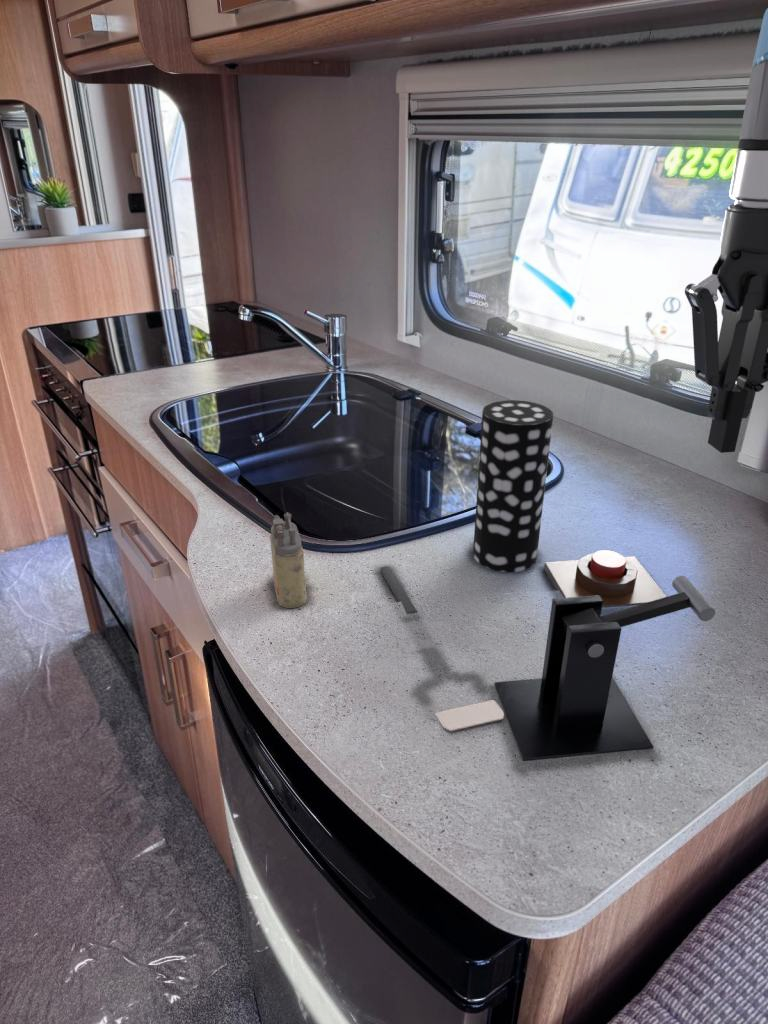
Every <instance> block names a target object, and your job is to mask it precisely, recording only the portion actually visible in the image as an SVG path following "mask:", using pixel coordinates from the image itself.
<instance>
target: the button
mask: <svg viewBox="0 0 768 1024" xmlns="http://www.w3.org/2000/svg"><path fill="white" fill-rule="evenodd" d="M591 554H592V558H591V564H590V571H591V572H592V573H593V574H595V575H597V576H599V577H603V578H607V579H616V578H621V577H622V576H623V575H624V571H625V566H626V559H625V557H626V556H624V555H622V554H621V553H619V552H616V551H613V550H608V549H600V550H596V551H595V552H593V553H591Z"/></svg>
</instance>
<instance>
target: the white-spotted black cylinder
mask: <svg viewBox="0 0 768 1024" xmlns="http://www.w3.org/2000/svg"><path fill="white" fill-rule="evenodd" d="M553 422H554V412H553V411H552V410H551V408H549V407H547V406H545V405H544V404H540V403H537V402H533V401H527V400H517V399H515V400H514V399H511V400H510V399H509V400H508V399H507V400H497V401H493V402H491V403H490V402H489V403H488V404H486V405H485V406H484V407H483V408H482V414H481V426H480V442H479V443H480V444H479V459H478V473H477V487H476V488H477V489H476V502H475V515H474V516H475V517H474V533H473V547H472V556H473V559H475V561H476V562H477V563H478V564H479V565H480V566H483V567H485V568H486V569H488V570H491V571H496V572H501V573H516V572H517V573H518V572H523V571H525V570H528V569H530V568H532V567H533V566H534V565H535V564H536V562H537V559H538V550H539V542H540V534H541V526H542V525H541V524H542V518H543V517H542V516H543V509H544V508H543V507H544V499H545V492H546V491H545V490H546V482H547V473H548V465H549V456H550V447H551V439H552V430H553Z"/></svg>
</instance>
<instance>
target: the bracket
mask: <svg viewBox="0 0 768 1024" xmlns="http://www.w3.org/2000/svg"><path fill="white" fill-rule="evenodd" d="M602 605H603V600H602V599H601V597H600V596H599V595H595V596H582V597H568V598H564V597H557V598H552V600H551V607H550V613H549V614H550V616H549V621H548V629H547V636H546V637H547V638H546V644H545V652H544V660H543V666H542V667H543V668H542V674H541V677H540V678H529V679H518V680H506V681H495V682H494V687H495V690H496V693H497V695H498V697H499V700H500V703H501V706H502V708H503V712H504V715H505V716H506V719H507V721H508V724H509V727H510V730H511V732H512V735H513V738H514V740H515V743H516V745H517V749H518V751H519V754H520V756H521V759H522V761H523V762H528V761H540V760H548V759H560V758H568V757H569V758H570V757H580V756H589V755H590V756H591V755H598V754H599V755H600V754H610V753H621V752H631V751H632V752H633V751H641V750H650V749H651V750H652V749H654V745H653V743H652V741H651V740H650V738H649V736H648V735H647V733H646V732H645V729H644V728H643V726H642V725H641V723H640V721H639V720H638V718H637V716H636V714H635V713H634V711H633V710H632V708H631V706H630V704H629V703H628V702H627V700H626V698H625V696H624V694H623V693H622V691H621V690H620V688H619V686H618V684H617V682H616V681H615V679H614V677H613V676H614V669H615V664H616V659H617V655H618V649H619V644H620V639H621V634H622V627H620V626H619V624H618V623H617V622H610V623H597V624H584V625H572V626H568V628H567V635H565V629H564V624H563V618H562V617H563V616H566V615H569V614H573V613H576V612H579V611H583V610H586V609H590V608H593V610H594V611H595V613H596V614H597V616H598V617H599V616H602V612H603V611H602V610H603V608H602Z"/></svg>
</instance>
